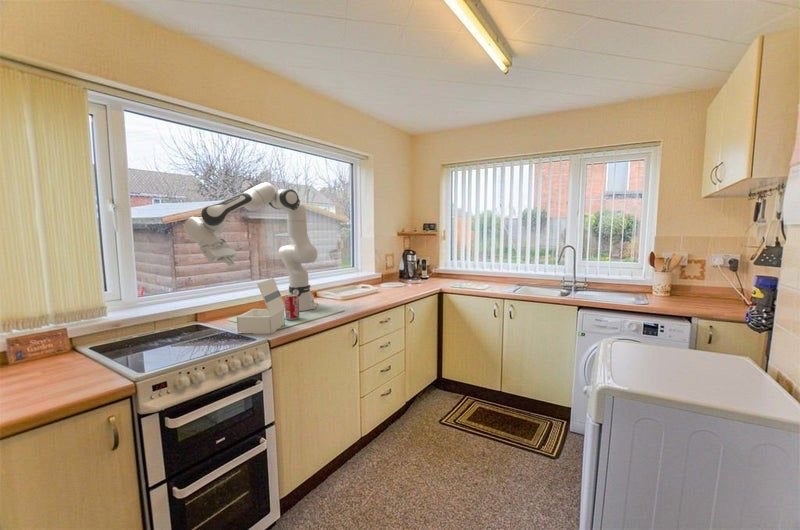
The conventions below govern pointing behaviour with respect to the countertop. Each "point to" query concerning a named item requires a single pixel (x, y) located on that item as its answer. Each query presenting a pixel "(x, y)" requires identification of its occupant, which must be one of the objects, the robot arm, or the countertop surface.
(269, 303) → the mailer lid
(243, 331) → the box
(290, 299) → the soda can
